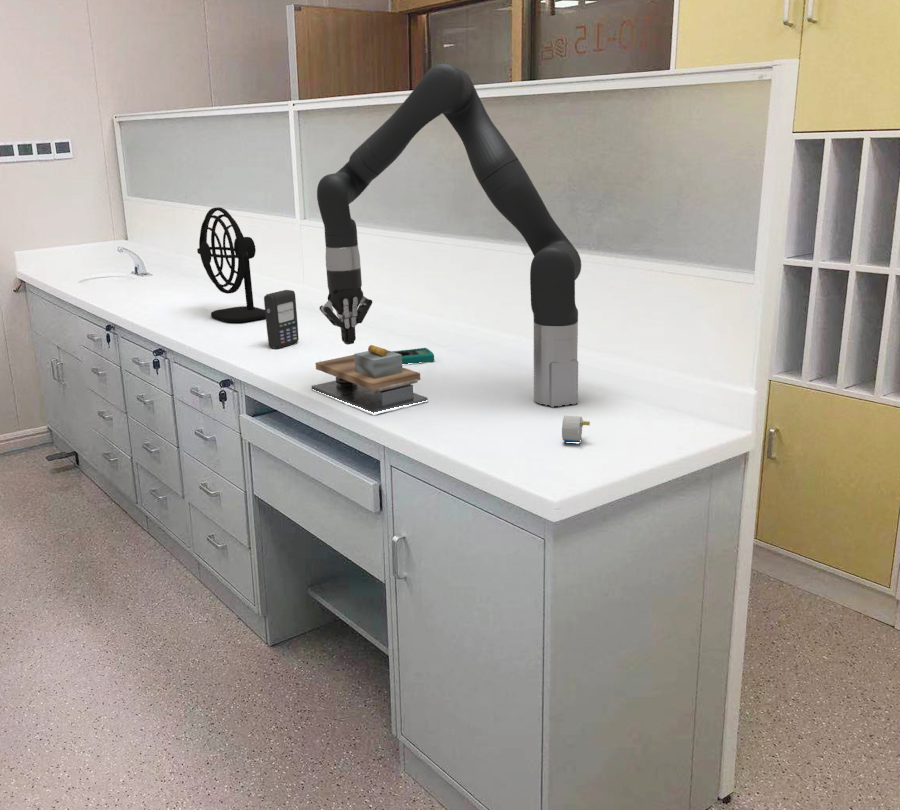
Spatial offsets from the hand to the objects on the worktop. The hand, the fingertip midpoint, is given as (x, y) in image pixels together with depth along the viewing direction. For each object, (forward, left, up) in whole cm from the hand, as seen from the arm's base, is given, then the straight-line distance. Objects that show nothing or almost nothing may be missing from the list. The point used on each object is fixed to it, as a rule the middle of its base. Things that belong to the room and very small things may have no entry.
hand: (349, 343), depth 201 cm
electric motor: (-52, -30, -11) cm, 61 cm away
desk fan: (+97, +14, -11) cm, 98 cm away
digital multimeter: (+19, -18, -12) cm, 29 cm away
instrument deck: (-7, -2, -6) cm, 9 cm away
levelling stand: (-6, -2, -11) cm, 13 cm away
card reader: (+51, +7, -11) cm, 52 cm away
